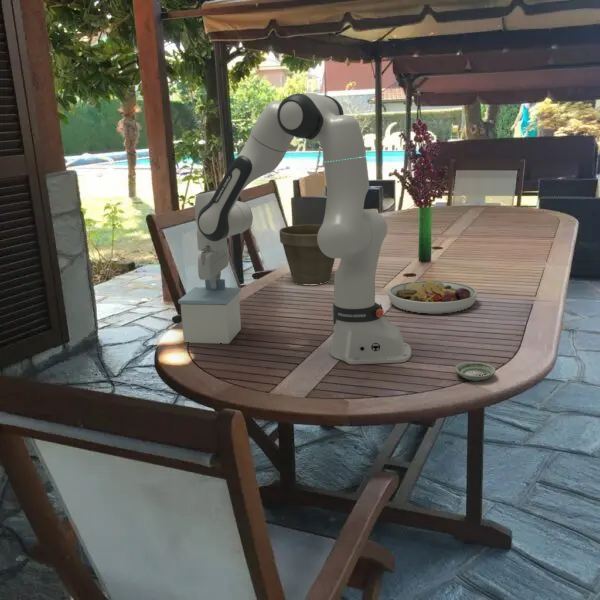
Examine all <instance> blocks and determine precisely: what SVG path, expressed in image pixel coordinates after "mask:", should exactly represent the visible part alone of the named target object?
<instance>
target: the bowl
mask: <svg viewBox="0 0 600 600" xmlns="http://www.w3.org/2000/svg"><path fill="white" fill-rule="evenodd" d="M387 294H388V295H387V296H388V299H389V301H390V303H391V304H392V305H393V306H394V307H396V308H398V309H399V310H402V309H403V311H405V310H406V312H408V311H411V312H410V313H413V312H417V313H416V314H420V313H428V314H427V315H443V314H442V313H448V314H453V313H452V312H455V313H458V312H457V311H459V312H462V311H464V309H465V310H467V309H468V308H470V307H472V306H473V305H474V304H475V302H476V301H477V296H478V292H477V290H476V289H475V288H474V287H472V286H470V285H467V284H464V283H459V282H452V281H445V280H432V279H431V280H429V279H428V280H417V281H408V282H402V283H398V284H395V285H393V286H391V287H390V288H389V289H388V292H387ZM461 310H462V311H461Z"/></svg>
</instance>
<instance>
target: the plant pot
mask: <svg viewBox="0 0 600 600" xmlns="http://www.w3.org/2000/svg"><path fill="white" fill-rule="evenodd" d="M321 226H322V224H297V225H291V226H290V225H289V226H285V227H284V226H283V227H282V228H280V229H279V232H278V233H279V242H280V243H281V244H282V246H283V247H282V248H283V251H284V255H285V257H286V260H287V261H286V262H287V265H288V268H289V272H290V274H291V277H292V281H293V283H294V284H296V283H297V284H296V285H299V284H320V283H325V282H327V281H330V279H331V276H332V272H333V270H334V269H333V268H334V264H335V261H336V258H330V257H328V256H326V255H325V254H324V253H323V252H322V251H321V250H320V248H319V246H318V242H317V235H318V231H319V229H320V227H321ZM327 283H328V282H327ZM325 284H326V283H325Z"/></svg>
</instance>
